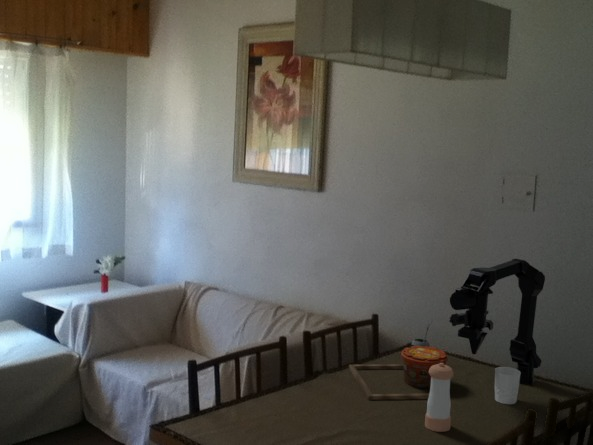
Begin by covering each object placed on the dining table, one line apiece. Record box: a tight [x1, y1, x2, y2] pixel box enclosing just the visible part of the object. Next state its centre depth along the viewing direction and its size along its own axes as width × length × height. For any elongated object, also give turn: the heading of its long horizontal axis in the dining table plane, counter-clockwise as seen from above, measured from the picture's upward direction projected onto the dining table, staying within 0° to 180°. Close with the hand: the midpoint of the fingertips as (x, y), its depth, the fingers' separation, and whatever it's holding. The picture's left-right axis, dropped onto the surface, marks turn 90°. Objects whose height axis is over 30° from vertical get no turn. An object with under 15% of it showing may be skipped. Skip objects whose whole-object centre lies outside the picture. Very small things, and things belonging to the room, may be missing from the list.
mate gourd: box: [410, 320, 433, 348], centre depth 262 cm, size 8×8×15 cm
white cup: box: [494, 366, 521, 405], centre depth 226 cm, size 8×8×10 cm
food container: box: [400, 346, 449, 390], centre depth 239 cm, size 16×16×11 cm
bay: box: [348, 363, 430, 401], centre depth 239 cm, size 26×30×1 cm
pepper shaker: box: [424, 363, 455, 433], centre depth 203 cm, size 7×7×19 cm
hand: (473, 354), depth 229 cm, fingers closed
